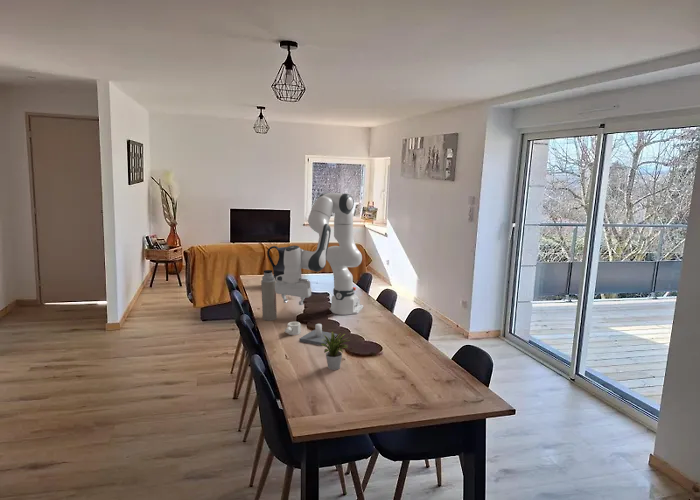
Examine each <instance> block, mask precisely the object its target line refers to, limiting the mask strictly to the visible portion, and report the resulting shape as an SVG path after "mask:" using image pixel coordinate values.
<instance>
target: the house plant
mask: <svg viewBox="0 0 700 500" xmlns="http://www.w3.org/2000/svg"><path fill="white" fill-rule="evenodd" d="M331 333H332V334H331V340H330V341H331V342H330V341H329V339H330V338H329V337H328V338H329V339H328V338H327V337H326V336H325V335H324V336H325V338H326V339H325V338H324V339H325V341H326V342H327V343H328V344H327V343H326V342H325V341H324V340H323V339H322V341H324V342H325V343H326V344H321V345H323V347H326V348H325V349H324V351H323V352H324V353H325V358H326V363H327V369H329V370H331V371H337V370H339V369H340V368H341V365H342V363H341V362H342V358H343V349H348V348H349V346H348V344H345V342H346V343H347V342H348V339H349V337H346V338H344V336H345V335H346V334H347V333H343V334H342V331H341V332H339V334H338V336H337V337H336V338H335V335H334V331H333V330H332V331H331ZM341 334H342V335H341ZM343 338H344V339H343ZM321 345H320V346H321Z"/></svg>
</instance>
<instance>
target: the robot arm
mask: <svg viewBox="0 0 700 500" xmlns="http://www.w3.org/2000/svg"><path fill="white" fill-rule="evenodd" d="M354 204H355V201H354V198H353V197H352V195H351V194H348V193H341V192H329V193H328V192H324V193H321V194H319V196H318V197H317V199H316V200H315V202H314V204H313V206H312V208H311V210H310V213H309V215H308V218H307V223H308V226H309V227H310V228H311V230H313V232H316V233H317V234H318V242H317V246H316V250H314V251H312V250H311V251H310V250H306V249H302V248H301V247H300V246H298V245H289V246H286V247H287V248H286V249H285V251H284V266H285V270H284V274H282V275H279V276H277V277H276V280H277V281H276V283H275V292H276V295H277V294H278V295H281V298H282V299H283V303H284V304H285V303H286V304H288V301H289V299H288V298H287V297H286V296H292V297H299V298H300V301H299V302H298V305H299V306H304V301H305V298H306V299H307V298H310V297H312V289H311V281H310V280H309V279H305V278H302V269H304V270H308V271H312V272H317V273H318V272H320V271H322V270H323V269H324V268H325V267H326V264H327V263H328V264H329V265H330V267H331V270H332V274H333V275H332V276H333V291H332V293H333V295H332V297H331V303H330V304H331V305H330V307H329V311H331V313H333V314H335V315H339V316H340V315H343V316H345V315H346V316H347V315H356V314H359V313H360V312H361V311H362V309H363V308H364V305H363V304H361V303H360V302H361V301H360V298H359V297H358V295H357V294H355V291H356V290H357V287H354V286H353V285H354V283H353V281H354V280H353V279H354V277H353V274H352V272H351V271H350V270H349V268H357V267H359V266H360V265H361V264H362V260H363V255H362V253H361V251H360V250H359V249H358V247H357V245H356V243H355V238H354V217H353V215H354V214H353V208H354ZM333 213H334V216H333V237H334V239H335V240H336V241H337V243H338V245H339V246H338V245H332V246H329V243H330V238H331V233H332V232H331V230H332V229H331V226H330V221H331V220H330V219H331V217H332V214H333Z"/></svg>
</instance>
